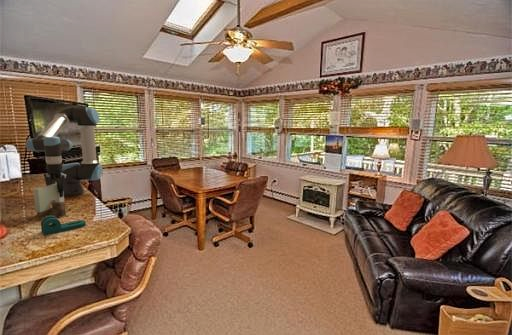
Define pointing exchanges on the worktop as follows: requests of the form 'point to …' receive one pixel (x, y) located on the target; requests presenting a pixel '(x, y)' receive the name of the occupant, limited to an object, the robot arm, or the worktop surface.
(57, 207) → the walnut slotted plate
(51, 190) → the sage slotted plate
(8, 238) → the worktop surface
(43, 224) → the bracket
